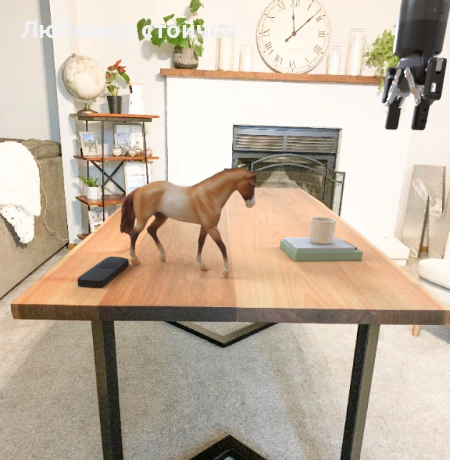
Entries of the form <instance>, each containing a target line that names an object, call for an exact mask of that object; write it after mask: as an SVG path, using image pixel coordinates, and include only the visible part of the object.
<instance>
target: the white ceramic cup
mask: <svg viewBox="0 0 450 460" xmlns="http://www.w3.org/2000/svg"><path fill="white" fill-rule="evenodd" d="M336 223H337V219H335V218H333V217H329V216H328V217H327V216H312V217H310V220H309V227H308V236H307V237H308V240H309V241H310V242H311V243H314V244H319V245H328V244H331V243H332V242H333V240H334V237H335V231H336Z"/></svg>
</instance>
